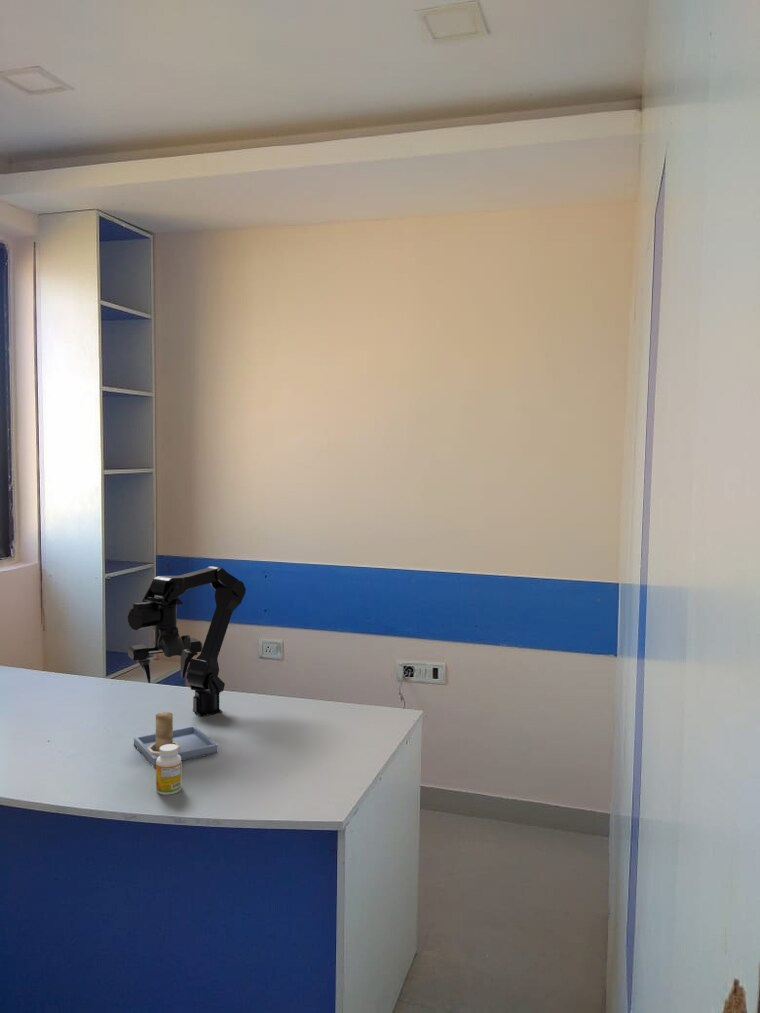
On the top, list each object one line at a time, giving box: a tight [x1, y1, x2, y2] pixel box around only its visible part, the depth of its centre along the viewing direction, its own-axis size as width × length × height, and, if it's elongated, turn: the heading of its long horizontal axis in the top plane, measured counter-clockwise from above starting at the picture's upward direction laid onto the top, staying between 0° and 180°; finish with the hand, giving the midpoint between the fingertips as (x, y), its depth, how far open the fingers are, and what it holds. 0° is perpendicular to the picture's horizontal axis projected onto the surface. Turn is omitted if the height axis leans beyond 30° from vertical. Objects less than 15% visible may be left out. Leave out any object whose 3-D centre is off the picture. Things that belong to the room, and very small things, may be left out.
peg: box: [155, 711, 174, 752], centre depth 186 cm, size 4×4×10 cm
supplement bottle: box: [155, 744, 183, 796], centre depth 168 cm, size 5×5×10 cm
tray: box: [133, 725, 219, 767], centre depth 191 cm, size 16×16×2 cm
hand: (165, 680), depth 205 cm, fingers open, 9 cm apart
